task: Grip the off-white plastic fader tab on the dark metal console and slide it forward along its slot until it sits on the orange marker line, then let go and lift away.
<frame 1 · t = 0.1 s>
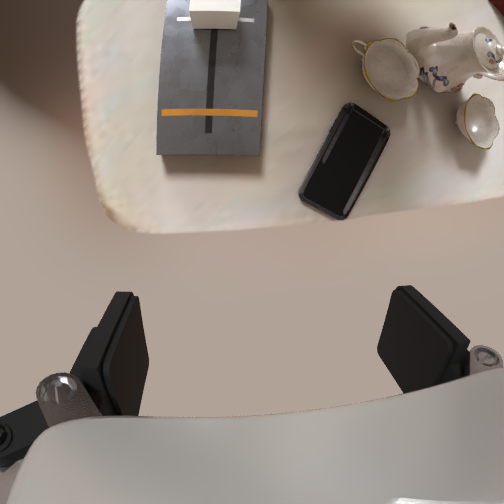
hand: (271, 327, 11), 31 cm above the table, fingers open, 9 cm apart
fader console: (212, 68, 34), on the table
fader tab: (215, 9, 26), point 6 cm above the table, slide at 0.0 cm
chinaware: (425, 77, 37), on the table
phone: (343, 160, 41), on the table
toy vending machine: (502, 1, 30), on the table
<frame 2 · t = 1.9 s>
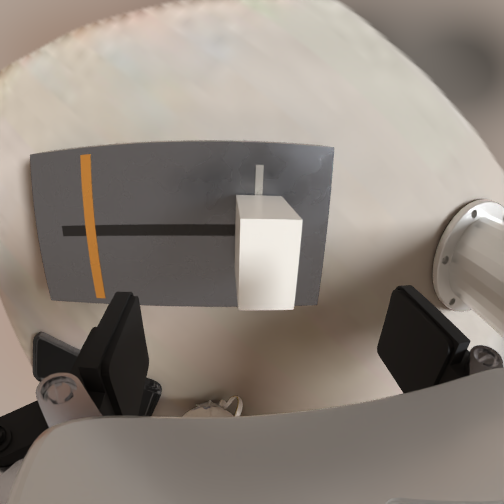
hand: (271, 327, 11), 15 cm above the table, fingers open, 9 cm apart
fader console: (175, 218, 24), on the table
fader tab: (262, 246, 19), point 6 cm above the table, slide at 0.0 cm
chinaware: (226, 450, 36), on the table
phone: (94, 377, 30), on the table
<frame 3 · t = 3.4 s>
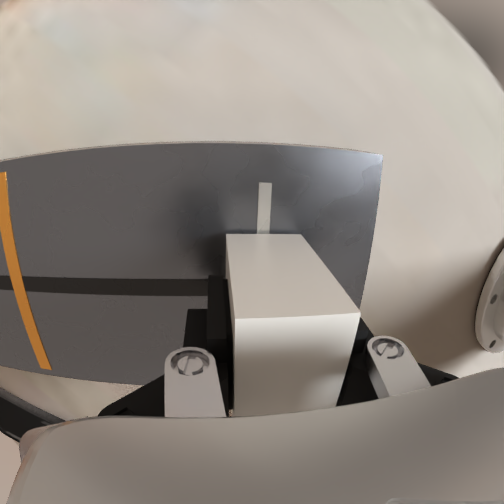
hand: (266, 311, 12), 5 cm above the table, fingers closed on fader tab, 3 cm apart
fader console: (138, 260, 16), on the table
fader tab: (272, 330, 11), point 6 cm above the table, slide at 0.0 cm, touching gripper
phone: (62, 435, 22), on the table
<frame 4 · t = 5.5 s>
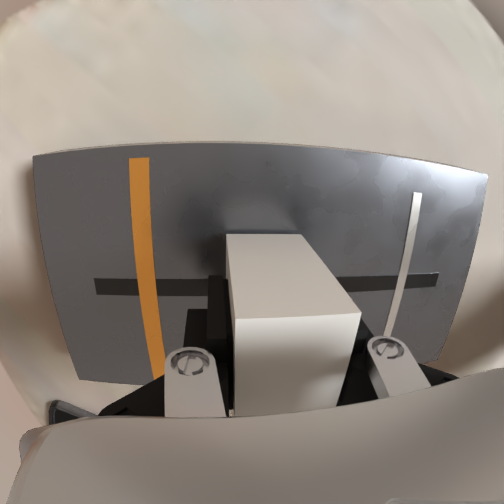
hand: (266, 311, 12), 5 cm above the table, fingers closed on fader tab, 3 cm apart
fader console: (273, 260, 17), on the table
fader tab: (272, 330, 11), point 6 cm above the table, slide at 7.1 cm, touching gripper
phone: (131, 446, 22), on the table
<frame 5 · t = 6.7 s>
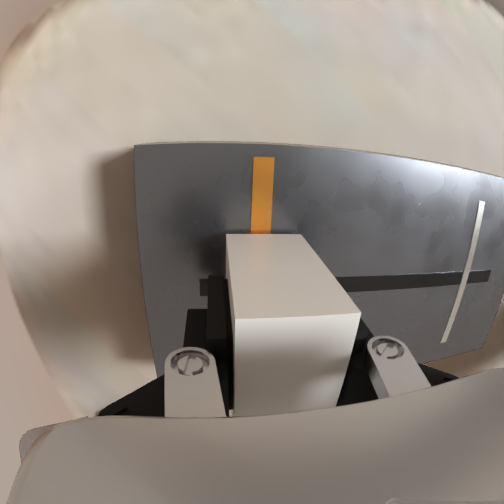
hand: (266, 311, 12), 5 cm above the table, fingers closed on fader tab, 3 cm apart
fader console: (357, 259, 17), on the table
fader tab: (272, 330, 11), point 6 cm above the table, slide at 11.9 cm, touching gripper
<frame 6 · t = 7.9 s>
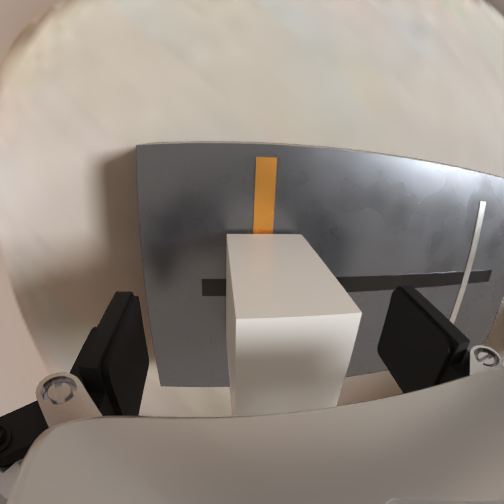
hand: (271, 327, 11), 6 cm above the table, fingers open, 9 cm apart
fader console: (358, 259, 17), on the table
fader tab: (273, 330, 11), point 6 cm above the table, slide at 12.0 cm
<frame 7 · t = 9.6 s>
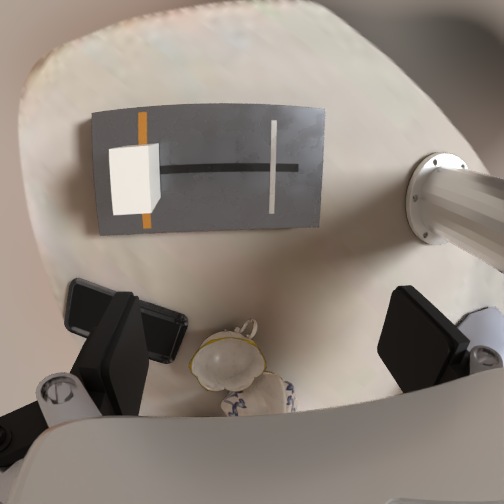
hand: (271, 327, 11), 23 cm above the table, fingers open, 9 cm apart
fader console: (207, 164, 31), on the table
bottle: (465, 347, 50), on the table
fader tab: (137, 175, 24), point 6 cm above the table, slide at 12.0 cm
chinaware: (236, 388, 43), on the table
phone: (124, 319, 36), on the table
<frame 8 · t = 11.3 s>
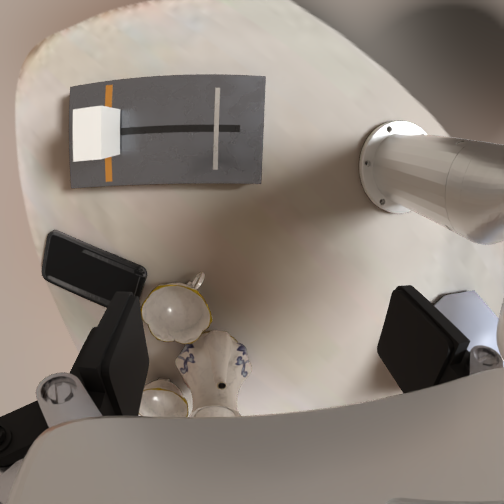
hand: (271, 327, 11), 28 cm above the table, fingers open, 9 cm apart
fader console: (164, 129, 34), on the table
bottle: (443, 333, 51), on the table
fader tab: (97, 133, 27), point 6 cm above the table, slide at 12.0 cm
chinaware: (193, 348, 45), on the table
phone: (92, 270, 39), on the table
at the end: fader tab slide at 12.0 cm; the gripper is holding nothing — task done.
